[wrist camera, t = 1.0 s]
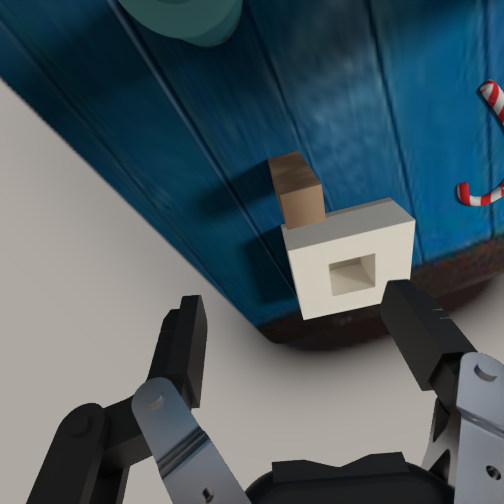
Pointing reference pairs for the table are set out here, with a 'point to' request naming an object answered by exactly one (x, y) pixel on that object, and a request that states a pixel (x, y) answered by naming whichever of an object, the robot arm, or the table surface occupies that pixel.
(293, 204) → the peg
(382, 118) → the table surface
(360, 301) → the socket block
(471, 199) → the candy cane
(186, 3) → the beverage bottle
